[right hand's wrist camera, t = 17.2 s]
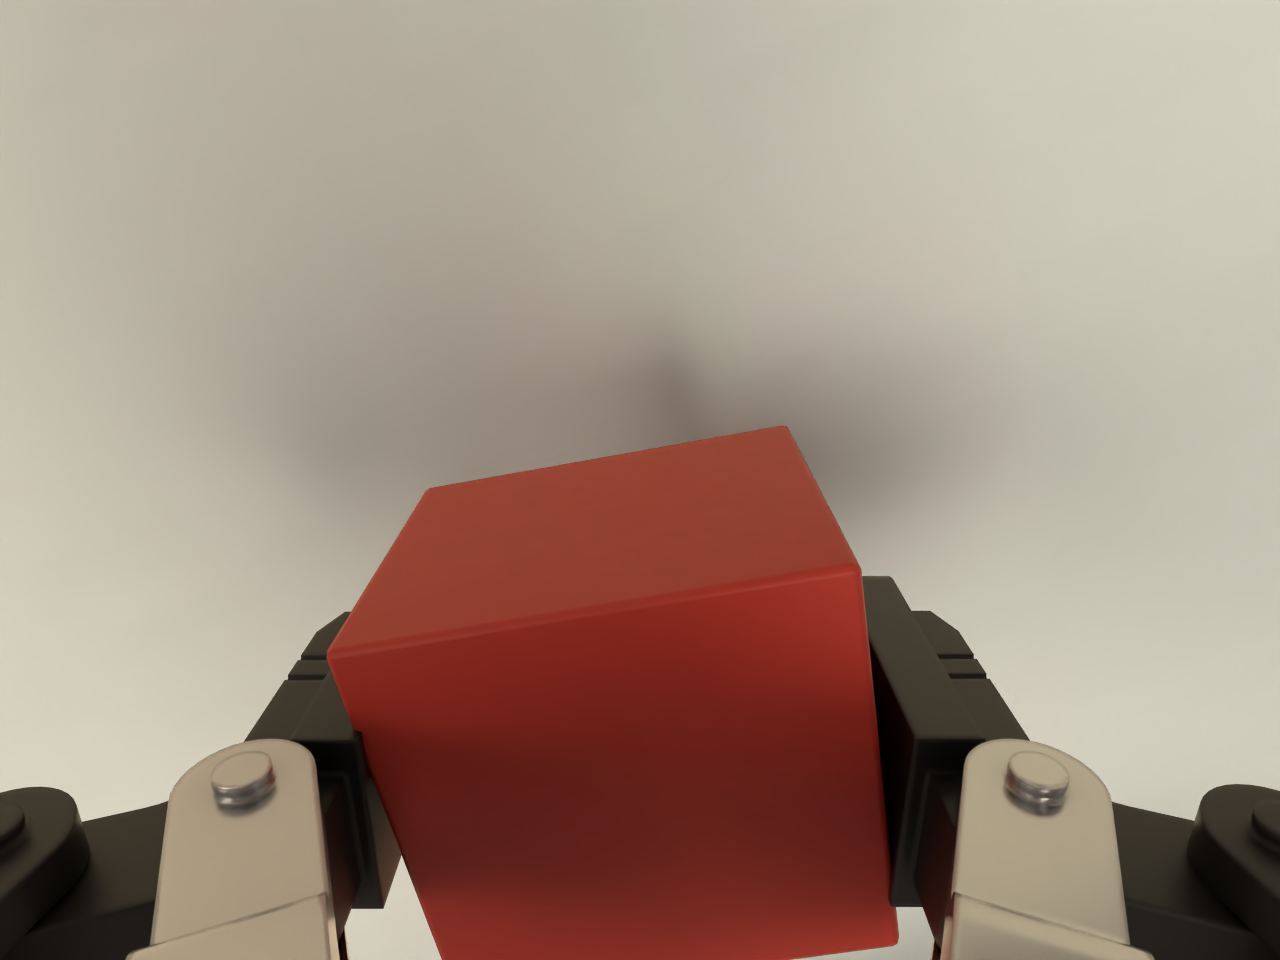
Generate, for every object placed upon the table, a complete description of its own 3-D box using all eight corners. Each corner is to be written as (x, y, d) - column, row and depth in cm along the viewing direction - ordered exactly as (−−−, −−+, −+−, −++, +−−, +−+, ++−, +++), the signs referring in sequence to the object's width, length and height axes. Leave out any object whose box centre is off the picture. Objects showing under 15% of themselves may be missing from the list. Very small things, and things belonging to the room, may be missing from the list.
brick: (425, 487, 12) (320, 654, 8) (787, 422, 11) (863, 564, 8) (508, 761, 14) (457, 1008, 10) (824, 713, 13) (901, 947, 9)
